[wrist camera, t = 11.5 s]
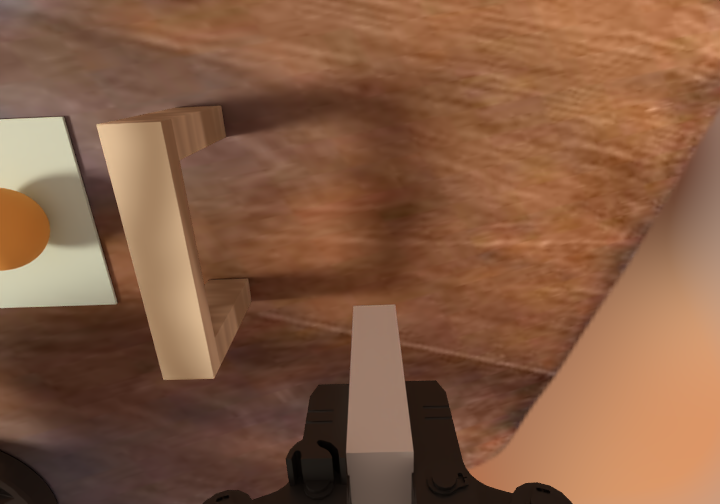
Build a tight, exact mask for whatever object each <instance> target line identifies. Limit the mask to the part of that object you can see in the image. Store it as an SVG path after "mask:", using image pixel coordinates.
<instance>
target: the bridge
mask: <svg viewBox="0 0 720 504" xmlns="http://www.w3.org/2000/svg"><path fill="white" fill-rule="evenodd" d="M96 125H97V129H98V133H99V137H100V141H101V144H102V148H103V152H104V156H105V160H106V163H107V167H108V171H109V175H110V179H111V182H112V186H113V190H114V194H115V198H116V201H117V205H118V209H119V213H120V217H121V220H122V224H123V228H124V232H125V236H126V239H127V243H128V247H129V251H130V255H131V258H132V262H133V266H134V270H135V274H136V277H137V281H138V285H139V289H140V293H141V296H142V300H143V304H144V308H145V312H146V315H147V319H148V323H149V327H150V331H151V334H152V338H153V342H154V346H155V350H156V353H157V357H158V361H159V365H160V369H161V372H162V376H163V380H182V379H214V378H215V376H216V374H217V372H218V370H219V368H220V366H221V364H222V361H223V359H224V357H225V355H226V353H227V351H228V349H229V347H230V345H231V343H232V341H233V339H234V337H235V335H236V333H237V331H238V329H239V327H240V325H241V322H242V320H243V318H244V316H245V314H246V312H247V310H248V308H249V306H250V304H251V302H252V301H251V294H250V288H249V281H248V278H247V279H217V280H208V282H207V283H206V284H205V286H204V281H203V276H202V271H201V266H200V261H199V256H198V251H197V246H196V241H195V236H194V231H193V226H192V221H191V216H190V211H189V206H188V201H187V196H186V191H185V186H184V181H183V176H182V171H181V165H180V160H181V159H183V158H185V157H187V156H189V155H191V154H193V153H195V152H197V151H199V150H201V149H203V148H205V147H207V146H209V145H211V144H213V143H215V142H217V141H219V140H221V139H223V138H225V137H226V133H225V127H224V120H223V114H222V108H221V106H201V107H178V108H171V109H167V110H162V111H157V112H153V113H148V114H143V115H139V116H134V117H129V118H125V119H120V120H115V121H110V122H106V123H101V124H96Z"/></svg>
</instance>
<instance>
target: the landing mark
mask: <svg viewBox="0 0 720 504" xmlns="http://www.w3.org/2000/svg"><path fill="white" fill-rule="evenodd" d="M0 188H6V189H11V190H14V191H17V192H20V193H22V194H25V195H26V196H28V197H30V198H31V199H33V200H34V201H35V202H36V203H37V204H39V205H40V207H41V208H42V209H43V210H44V212H45V213H46V215H47V218H48V220H49V224H50V237H49V241H48V243H47V245H46V247H45V249H44V250H43V252H42V253H41V254H40V255H39V256H38V257H37V258H36V259H35V260H33V261H32V262H30V263H28V264H26V265H24V266H22V267H19V268H16V269H11V270H5V271H0V308H14V307H46V306H78V305H109V304H117V303H118V302H117V299H116V295H115V292H114V288H113V285H112V281H111V278H110V274H109V271H108V267H107V264H106V261H105V257H104V254H103V250H102V247H101V243H100V240H99V236H98V233H97V229H96V226H95V222H94V219H93V215H92V212H91V209H90V205H89V202H88V198H87V195H86V191H85V188H84V184H83V181H82V177H81V174H80V170H79V167H78V163H77V160H76V156H75V153H74V150H73V146H72V143H71V139H70V136H69V132H68V129H67V125H66V122H65V118H64V117H41V118H18V119H0Z"/></svg>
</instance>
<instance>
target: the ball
mask: <svg viewBox="0 0 720 504" xmlns="http://www.w3.org/2000/svg"><path fill="white" fill-rule="evenodd" d="M49 237H50V224H49V220H48V218H47V215H46V213H45V212H44V210H43V209H42V208H41V207H40V205H39V204H37V203H36V202H35V201H34V200H33V199H31V198H30V197H28V196H26V195H25V194H22V193H20V192H17V191H14V190H11V189H6V188H0V271H5V270H11V269H16V268H19V267H22V266H24V265H26V264H28V263H30V262H32V261H33V260H35V259H36V258H37V257H38V256H39V255H40V254H41V253H42V252H43V250H44V249H45V247H46V245H47V243H48V241H49Z"/></svg>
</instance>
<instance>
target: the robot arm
mask: <svg viewBox="0 0 720 504" xmlns="http://www.w3.org/2000/svg"><path fill="white" fill-rule="evenodd" d="M286 464H287V471H288V478H289V483H288V484H287V485H286V486H284V487H283V488H281V489H280V490H278V491H276V492H274V493H271V494H269V495H266V496H263V497H260V498H257V499H253V500H252V499H251V498H250V497H249V495H248V494H246V493H244V492H241V491H239V490H227V491H224V492H220V493H217V494H215V495H214V496H212V497H211V498H209V499H208V500H206V501H205V502H204V503H203V504H572V503H571V501H570V500H569V499H568V498H567V497H566V496H565V495H564V494H563V493H562V492H560V491H558V490H556V489H555V488H553V487H551V486H549V485H545V484H541V483H525V484H523V485H521V486H519V487H517V488H516V490H515V491H514V493H509V492H505V491H502V490H498V489H495V488H492V487H489V486H486V485H484V484H483V483H481V482H479V481H478V480H476V479H475V478H474V477H473V476H472V475H471V474H470V473H469V472H468V470H467V469H466V467H465V465H464V463H463V460H462V456H461V452H460V448H459V444H458V440H457V436H456V432H455V428H454V424H453V420H452V416H451V412H450V408H449V403H448V399H447V395H446V392H445V391H444V389H443V388H442V387H441V386H440V385H439V384H438V382H437V381H436V380H435V381H405V379H404V371H403V363H402V355H401V347H400V339H399V331H398V323H397V315H396V307H395V305H368V306H353V325H352V345H351V365H350V384H327V385H318V387H317V388H316V389H315V391H314V392H313V393H312V395H311V396H310V400H309V406H308V413H307V418H306V424H305V430H304V436H303V440H301V441H299V442H297V443H296V444H295V445H294V446H293V447H292V448H291V449H290V451H289V453H288V455H287V458H286ZM0 504H57V502H56V500H55V497H54V495H53V493H52V492H51V490H50V489H49V487H48V486H47V485H46V483H45V482H44V481H43V480H42V479H41V478H40V477H39V476H38V475H37V474H36V473H35V472H34V471H33V470H31V469H30V468H29V467H27V466H26V465H24V464H23V463H21V462H20V461H18V460H17V459H15V458H13V457H11V456H9V455H7V454H5V453H3V452H0Z"/></svg>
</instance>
